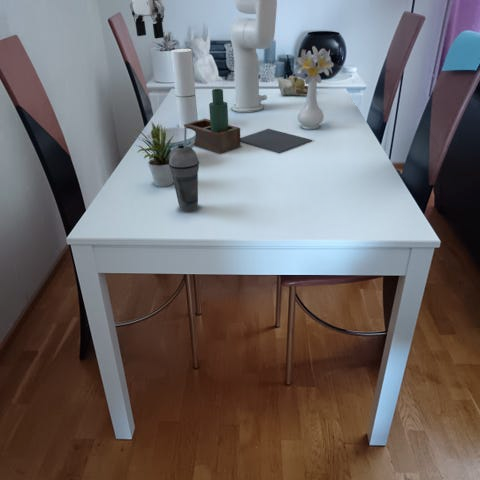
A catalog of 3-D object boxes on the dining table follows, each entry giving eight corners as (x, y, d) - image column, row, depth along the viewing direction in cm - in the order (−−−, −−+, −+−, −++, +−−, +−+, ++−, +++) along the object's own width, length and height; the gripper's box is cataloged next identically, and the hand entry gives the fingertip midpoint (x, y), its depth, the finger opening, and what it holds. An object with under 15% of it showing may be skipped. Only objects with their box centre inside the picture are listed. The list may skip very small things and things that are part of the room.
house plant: (131, 178, 142) (120, 119, 132) (176, 169, 146) (169, 112, 137) (143, 195, 132) (133, 133, 122) (191, 186, 136) (185, 125, 126)
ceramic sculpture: (278, 70, 216) (312, 72, 215) (277, 91, 221) (310, 93, 220) (277, 75, 207) (313, 77, 206) (276, 97, 213) (310, 99, 212)
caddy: (206, 136, 172) (205, 118, 169) (240, 146, 162) (240, 127, 158) (185, 142, 167) (183, 124, 164) (219, 153, 157) (218, 134, 153)
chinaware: (207, 158, 154) (205, 133, 149) (171, 171, 145) (168, 145, 141) (176, 149, 162) (173, 124, 158) (140, 161, 154) (136, 136, 149)
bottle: (221, 143, 165) (218, 87, 155) (232, 146, 162) (230, 89, 152) (208, 147, 162) (204, 90, 152) (220, 151, 159) (216, 93, 148)
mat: (268, 129, 176) (268, 128, 175) (311, 140, 164) (311, 139, 164) (236, 140, 167) (236, 139, 167) (279, 153, 155) (279, 151, 155)
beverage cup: (174, 203, 127) (164, 123, 115) (202, 201, 127) (195, 121, 115) (174, 215, 121) (163, 132, 109) (203, 213, 121) (196, 130, 109)
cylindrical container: (199, 122, 186) (193, 48, 171) (196, 128, 180) (189, 51, 165) (181, 123, 187) (173, 48, 172) (177, 128, 181) (169, 52, 166)
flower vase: (297, 136, 169) (300, 54, 154) (290, 121, 183) (292, 45, 168) (334, 134, 169) (341, 52, 154) (324, 119, 184) (329, 43, 169)
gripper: (169, -30, 143) (175, 37, 153) (136, -30, 153) (144, 33, 164) (147, -29, 139) (156, 40, 149) (115, -29, 149) (125, 36, 160)
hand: (150, 36), depth 156 cm, fingers open, 9 cm apart
